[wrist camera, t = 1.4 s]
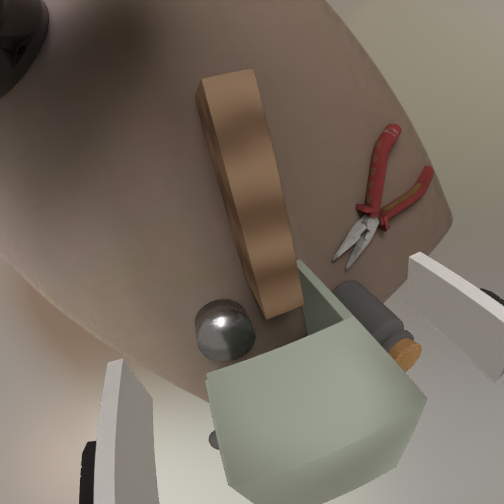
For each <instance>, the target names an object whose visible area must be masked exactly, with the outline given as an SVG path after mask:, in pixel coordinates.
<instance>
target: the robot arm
mask: <svg viewBox="0 0 504 504" xmlns="http://www.w3.org/2000/svg"><path fill="white" fill-rule="evenodd" d="M47 26H48V10H47V7H46V5H45V3H44V2H43V0H0V97H1V96H3V95H4V94H5V93H6V92H8V91H9V90H10V89H11V88H12V87H13V86H14V85H15V84H16V83H17V82H18V81H19V80H20V79H21V77H22V76H23V75H24V74H25V72H26V71H27V70H28V68H29V67H30V65H31V64H32V62H33V61H34V59H35V57H36V55H37V53H38V52H39V50H40V47H41V45H42V43H43V40H44V37H45V34H46V30H47ZM406 304H407V305H408V306H409V307H410V308H411V309H413V310H414V311H415V312H416V313H417V314H418V315H420V316H421V317H422V318H423V319H424V320H426V321H427V322H428V323H429V324H430V325H431V326H432V327H434V328H435V329H436V330H437V331H438V332H439V333H440V334H441V335H443V336H444V337H445V338H446V339H447V340H448V341H449V342H450V343H451V344H453V345H454V346H455V347H456V348H457V349H458V350H459V351H460V352H461V353H463V354H464V355H465V356H466V357H467V358H468V359H469V360H470V361H471V362H472V363H473V364H474V365H475V366H476V367H477V368H478V369H480V370H481V371H482V372H483V373H484V374H485V375H486V376H487V377H488V378H489V379H490V380H491V381H492V382H493V383H495V382H496V381H497V380H498V379H499V378H500V377H501V376H502V375H503V374H504V300H503V299H500V297H498V296H497V295H496V294H494V293H493V292H491V291H488V290H485V289H482V288H481V289H478V288H477V287H475V286H474V285H472V284H471V283H469V282H468V281H466V280H464V279H463V278H462V277H460V276H459V275H457V274H455V273H454V272H452V271H451V270H449V269H447V268H446V267H444V266H443V265H441V264H439V263H438V262H436V261H434V260H433V259H431V258H430V257H428V256H426V255H425V254H423V253H421V252H418V253H416V254H414V255H412V256H410V257H409V265H408V281H407V294H406ZM152 408H153V407H152V397H151V396H150V395H149V393H148V392H147V391H146V389H145V388H144V387H143V386H142V384H141V383H140V382H139V380H138V379H137V378H136V376H135V375H134V373H133V372H132V371H131V370H130V368H129V366H128V365H127V363H126V362H125V361H124V359H119V360H115V361H111V362H108V363H107V369H106V374H105V380H104V386H103V392H102V400H101V406H100V415H99V422H98V431H97V441H91V442H87V444H86V447H85V449H84V451H83V453H82V462H81V466H82V468H81V477H80V495H79V504H159V498H158V489H157V479H156V467H155V454H154V438H153V412H152V411H153V409H152Z"/></svg>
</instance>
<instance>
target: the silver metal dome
mask: <svg viewBox="0 0 504 504" xmlns="http://www.w3.org/2000/svg"><path fill="white" fill-rule="evenodd" d="M195 328H196V335H197V342H198V347H199V349H200V351H201V352H202V354H203V355H205V356H206V357H207V358H209V359H212V360H215V361H231V360H235V359H237V358H239V357H241V356H243V355H244V354H246V353H247V352H248V351H249V350H250V349H251V347H252V345H253V343H254V340H255V333H254V330H253V327H252V325H251V322H250V320H249V318H248V315H247V313H246V310H245V309H244V308H243V307H242V306H241V305H240V304H239V303H237V302H235V301H232V300H225V299H223V300H216V301H212V302H210V303H208V304H206V305H205V306H204V307H203V308H201V310H200V311H199V312H198V314H197V316H196V319H195Z"/></svg>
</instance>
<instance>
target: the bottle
mask: <svg viewBox="0 0 504 504" xmlns="http://www.w3.org/2000/svg"><path fill="white" fill-rule="evenodd" d="M333 294H334V295H335V296H336V297H337V299H338V300H339V301H340V302H341V303H342V304H343V305H344V306H345V307H346V308H347V309H348V310H349V311H350V312H351V313H352V315H353V316H354V317H355V318H356V319H357V320H358V321H359V322H360V323H361V324H362V325H363V326H364V327H365V329H366V330H367V331H368V332H369V333H370V334H371V335H372V336H373V337H374V338H375V339H376V341H377V342H378V343H379V344H380V345H381V346H382V347H383V348H384V349H385V351H386V352H387V353H388V354H389V355H390V356H391V357H392V358H393V359H394V361H395V362H396V363H397V364H398V365H399V366H400V367H401V368H402V369H403V371H404V372H406V371H407V370H409V369H410V368H411V367H412V366H413V365H414V363H415V362H416V361H417V360H418V358H419V356H420V354H421V345H420V344H418V343H416V342H414V337H413V335H412V334H411V333H410V332H408V331H407V330H404V325H403V323H402V321H401V320H400V319H399V318H398V317H397V316H396V315H395V314H394V313H393V312H391V311H390V310H389V309H388V308H387V307H386V306H385V305H384V304H383V303H382V302H380V301H379V300H378V299H377V298H376V297H375V296H374V295H373V294H371V293H370V292H369V291H368V290H367V289H366V288H365V287H363V286H362V285H361V284H360V283H358V282H356V281H346V282H344V283H342V284H341V285H339V286H338V287H337V288H336V289H335V290H334V292H333Z"/></svg>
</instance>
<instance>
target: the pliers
mask: <svg viewBox="0 0 504 504" xmlns="http://www.w3.org/2000/svg"><path fill="white" fill-rule="evenodd" d="M400 133H401V128H400V126H399V125H397V124H390V125H388V126H387V127H386V128H385V130H384V131H383V133H382V134H381V136H380V137H379V139H378V140H377V141H376V143H375V146H374V149H373V152H372V157H371V163H370V170H369V177H368V184H367V191H366V197H365V203H364V204H356V209H358V210H360V211H362V213H364V215H363V216H362V217H361V218H360V219H359V220H358V221H357V223H356V224H355V225H354V226H353V227H352V229H351V230H350V232H349V233H348V235H347V236H346V238H345V240H344V241H343V243H342V245H341V246H340V248H339V249H338V251H337V253H336V254H335V256H334V257H333V259H332V260H333V261H334V260H336V259H337V258H338V257H339V256H340V255H342V254H343V253H344V252H345V251H346V250H348V249H349V248H350V247H351V246H352V245H353V244H355V245H354V248H353V251H352V253H351V256H350V258H349V261H348V264H347V266H346V270H348V269H349V267H350V266H351V265H352V264H353V262H354V261H355V260H356V259H357V258H358V256H359V255H360V254H361V253H362V251H363V250H364V249H365V248H366V246H367V245H368V244H369V242H370V241H371V239H372V237H373V235H374V233H375V231H376V229H377V227H378V228H379V229H381V230H383V231H387V230H388V229H389V228H390V227H389V222H388V220H389V219H391V218H392V217H394V216H395V215H397V214H398V213H400V212H401V211H403V210H404V209H406V208H407V207H409V206H410V205H412V204H413V203H415V202H416V201H417V200H418V199H419V198H420V197H421V196H422V195H423V194H424V193H425V191H426V190H427V188H428V186H429V184H430V182H431V180H432V178H433V175H434V171H433V169H432V168H431V167H430V166H425V167H424V169H423V171H422V173H421V175H420V176H419V178H418V180H417V182H416V184H415V185H414V186H413V188H412V189H411V190H409V191H408V192H407V193H405V194H404V195H402V196H401V197H399V198H397V199H396V200H394V201H393V202H391V203H389V204H388V205H386V206H385V207H383V208H381V209H380V203H381V197H382V192H383V185H384V179H385V172H386V165H387V159H388V155H389V152H390V150H391V147H392V145H393V144H394V143H395V141H396V139H397V138H398V136H399V135H400ZM363 232H364V234H363V235H362V236H360V235H361V234H362V233H363Z"/></svg>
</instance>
